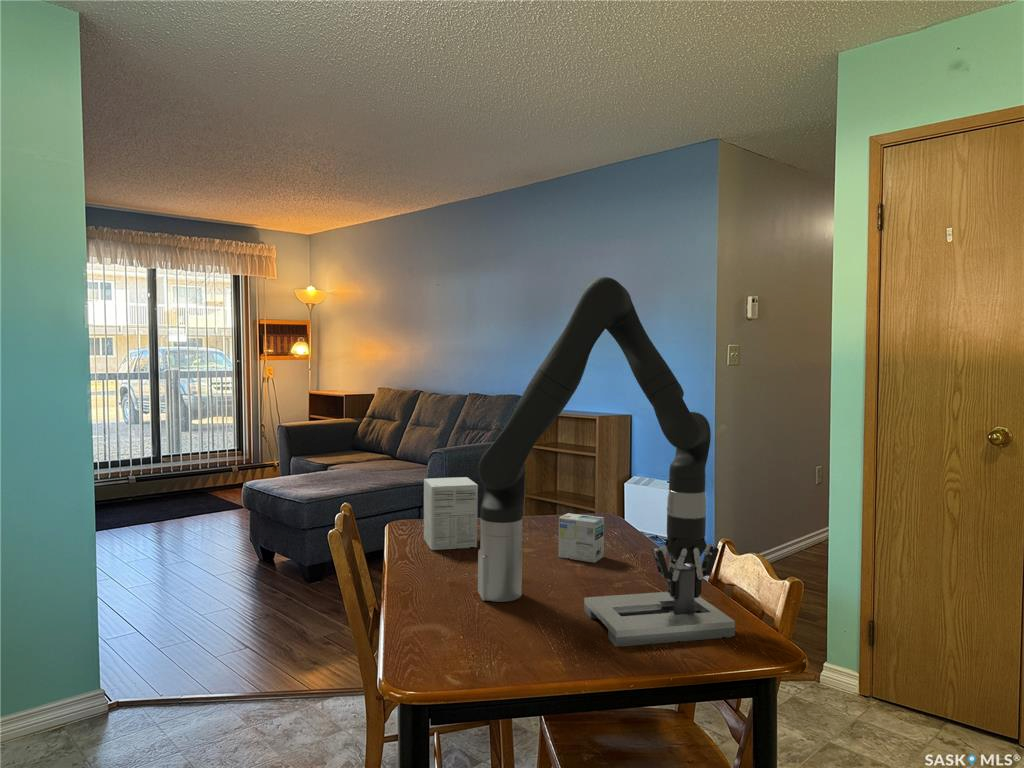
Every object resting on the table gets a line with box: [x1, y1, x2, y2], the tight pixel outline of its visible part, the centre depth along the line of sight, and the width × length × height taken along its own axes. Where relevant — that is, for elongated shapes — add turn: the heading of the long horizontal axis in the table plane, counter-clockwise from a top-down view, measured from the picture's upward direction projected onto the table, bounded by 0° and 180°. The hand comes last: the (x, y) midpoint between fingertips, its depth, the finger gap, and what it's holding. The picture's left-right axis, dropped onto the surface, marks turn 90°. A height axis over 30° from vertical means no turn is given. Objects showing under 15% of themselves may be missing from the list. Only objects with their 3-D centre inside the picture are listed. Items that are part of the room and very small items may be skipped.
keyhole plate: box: [583, 591, 736, 648], centre depth 140 cm, size 24×18×3 cm
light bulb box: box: [557, 512, 605, 564], centre depth 186 cm, size 11×7×11 cm, turn 63°
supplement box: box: [423, 476, 479, 551], centre depth 198 cm, size 13×13×18 cm
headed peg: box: [669, 565, 697, 615], centre depth 141 cm, size 6×6×10 cm
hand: (684, 596), depth 141 cm, fingers closed on headed peg, 4 cm apart
